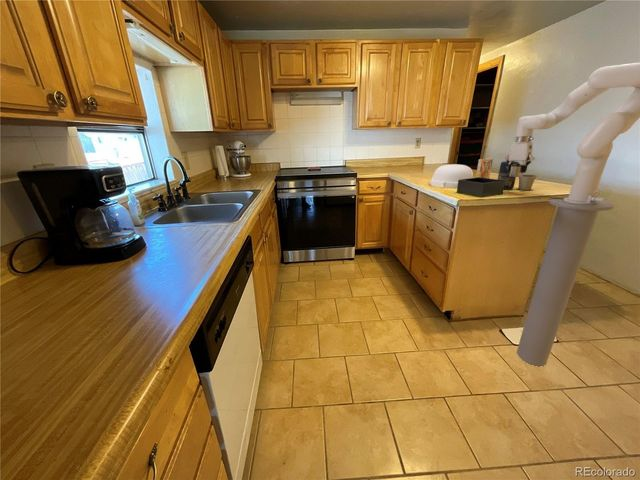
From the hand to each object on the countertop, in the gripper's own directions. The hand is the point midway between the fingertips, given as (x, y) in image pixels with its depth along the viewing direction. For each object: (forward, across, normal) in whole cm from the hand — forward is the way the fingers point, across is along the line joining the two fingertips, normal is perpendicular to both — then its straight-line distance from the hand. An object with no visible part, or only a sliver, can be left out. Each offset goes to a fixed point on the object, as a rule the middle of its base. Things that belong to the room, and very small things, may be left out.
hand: (516, 171), depth 156 cm
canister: (+12, +11, -8) cm, 18 cm away
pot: (+3, 0, 0) cm, 3 cm away
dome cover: (+12, +42, +5) cm, 43 cm away
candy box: (+12, +46, -32) cm, 57 cm away
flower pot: (+13, +3, -15) cm, 20 cm away
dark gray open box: (+12, +10, +16) cm, 22 cm away
